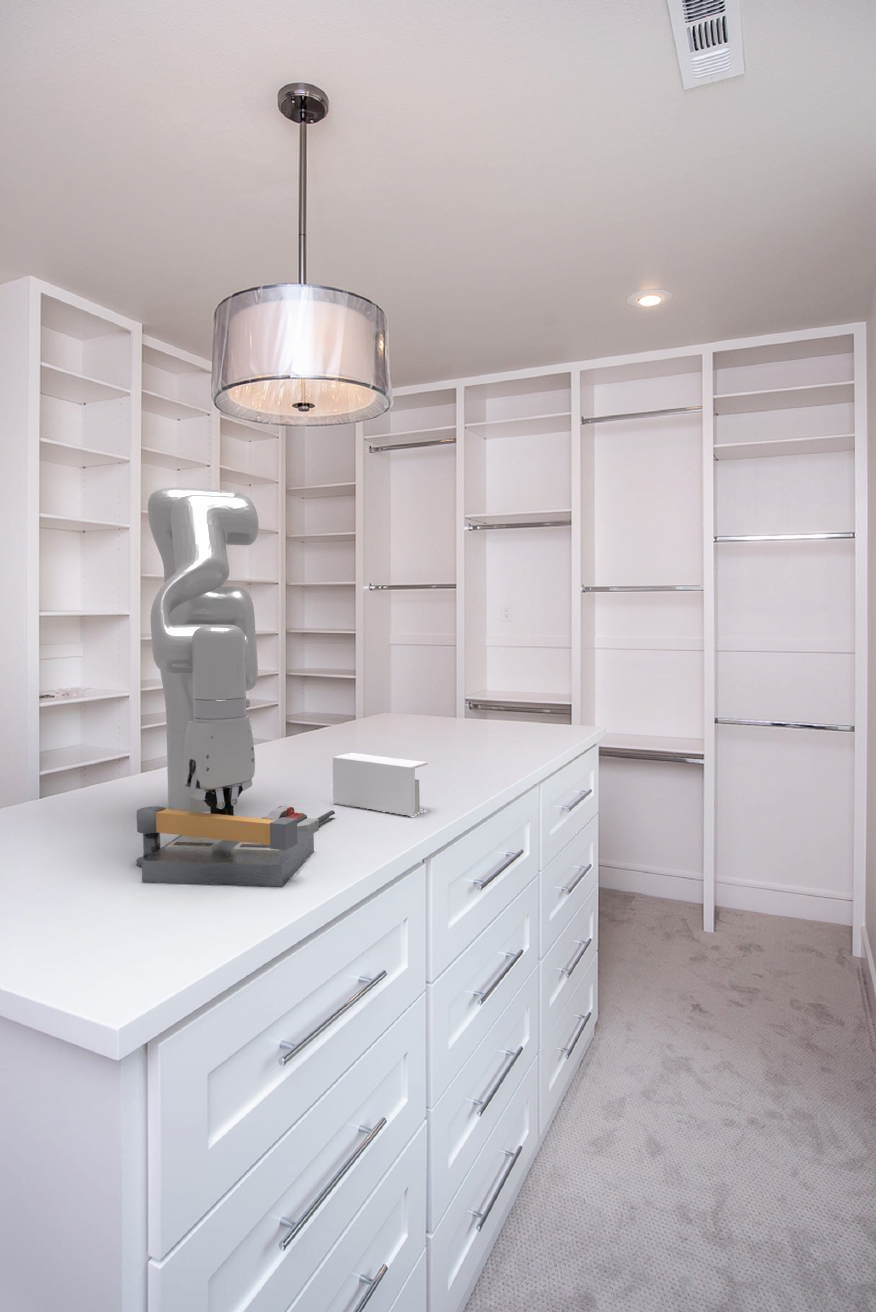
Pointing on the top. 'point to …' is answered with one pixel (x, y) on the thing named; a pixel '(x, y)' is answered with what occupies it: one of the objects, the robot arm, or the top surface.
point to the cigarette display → (377, 783)
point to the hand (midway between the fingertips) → (222, 832)
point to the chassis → (225, 862)
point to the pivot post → (149, 846)
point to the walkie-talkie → (298, 818)
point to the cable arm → (219, 826)
